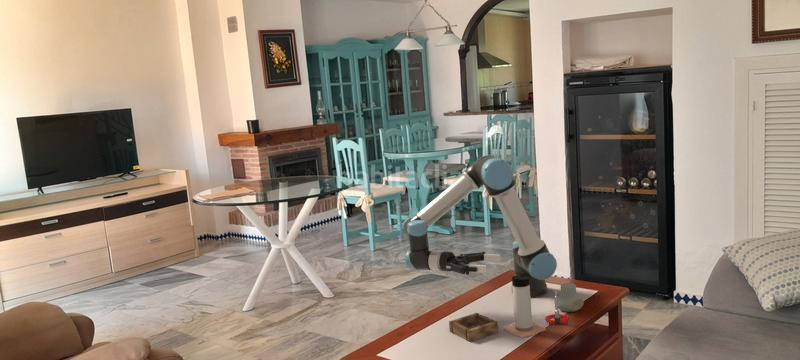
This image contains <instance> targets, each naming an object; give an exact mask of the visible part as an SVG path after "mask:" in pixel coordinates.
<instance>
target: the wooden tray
mask: <svg viewBox="0 0 800 360" xmlns="http://www.w3.org/2000/svg"><path fill="white" fill-rule="evenodd" d="M448 326H449V332H450V333H453V335H455V336H458V337H460V338H462V339H463V340H465V341H467V342H469V343H470V342H474V341H476V340H481V339H483V338H486V337H490V336H492V335H495V334H498V333H499V322H498V321H497V320H494V319H492V318H489V317H487V316H485V315H483V314H480V313H478V312H474V313H471V314H468V315H466V316H462V317H459V318H456V319H453V320H449V321H448ZM471 327H473V328H471Z"/></svg>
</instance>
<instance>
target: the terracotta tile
mask: <svg viewBox="0 0 800 360" xmlns="http://www.w3.org/2000/svg"><path fill="white" fill-rule="evenodd" d="M532 326H533V328H532V329H531V330H528V331H519V330H517V329H516V328H515V323H513V324H510V325H507V326H504V327H503V328H502V330H503V331H505V332H508V333H510V334H513V335H515V336H517V337H519V338H521V339H525V338H528V337H530V336H533V335H536V334H539V333H542V332H545V331H547V328H546V327H544V326H542V325H539V324H537V323H535V322H532Z"/></svg>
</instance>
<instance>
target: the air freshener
mask: <svg viewBox="0 0 800 360" xmlns="http://www.w3.org/2000/svg"><path fill="white" fill-rule="evenodd" d="M576 285H577V284H575V283H572V282H563V283H562V284H560V294H559V295H557V296H558V310H559V311H560V310H561V311H562V312H569V313H574V312H577V311H578V310H581V308H582V307H583V306H584V298H583V297H582V296H581V295H579V294H577V286H576Z"/></svg>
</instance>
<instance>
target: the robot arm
mask: <svg viewBox="0 0 800 360" xmlns="http://www.w3.org/2000/svg"><path fill="white" fill-rule="evenodd" d="M516 184H517V182H516V180H515V178H514V171H513V168H512V165H510V164H509V162H508V161H506V160H505V159H503V158H500V157H495V156H493V155H483V156H481V157H479V158H478V159H476V160H475V161H474V162H472V164H470V165H469V166H468V167H467V168H466V169H465V170H463V171H462V175H461V176H460V177H458V179H457V180H455V181H454V182H453V183H452V184H450V185H449V186H448V187H447V188H446V189H444V190H443V191H442V192H441V193H440V194H439V195H437V196H436V197H435V198H434V199H432V201H430V202H429V203H428V204H427V205H426V206H424V207H423V208H422V209H421V210H419V211H418V212H417V213H416V214H415V215H413V216H412V217H408V218H407V219H405V220H404V221H403V223H402V227H401V228H402V232H403V234H404V235H405V236H406V237H407V238H408V242H409V250H407V251H406V254H405V258H404V262H405V266H406V267H407V268H409V269H411V270H416V271H421V270H422V271H423V270H424V271H435V272H439V271H442V272H455V273H458V274H460V275H465V274H466V275H467V276H468V275H470V273H473V274H474V273H475V274H487V273H488V272H487V271H488V270H487V265H485V264H472V263H476V262H477V263H478V262H483V261H484V262H491V263H492V262H493V263H501V262H502V259H501V254H492V253H486V251H482V252H481V251H479V252H472V253H471V252H469V253H460V255H457V256H456V255H455V254H454V252H452V251H442V250H441V251H439V250H438V251H437V250H434V251H433V250H430V246H429V236H428V229H429V228H430V227H431V226H432V225H433V224H435V223H436V222H437V221H438V220H439V219H440V218H442V217H443V216H445V215H446V214H447V213H448V212H449V211H450V210H451V209H453V208H454V207H455V206H456V205H458V204H459V203H460V202H461V201H463V199H465V198H466V197H467V196H468V195H469V194H471V193H472V192H473V191H474V190H479V189H481V187H483V186H484V188H485V190H486V192H487V194H488V196H489V197H492V198H494V199H495V201H496V203H497V206H498V207H499V210H500V211H501V213H502V215H503V217H504V220H505V221H506V224H507V226H508V228H509V229H510V232H511V233H512V235H513V237H514V240H515V241H513V243H512V254H513V255H512V256H513V269H514V276H524V277H529V284H530V298H533V297H534V298H535V297H540V296H543V295H545V294H547V293H548V284H547V282H546V280H548V279H550V278H551V277H552V276H553V275H554V274H555V272H556V270H557V268H558V262H557V259H556V258H555V256H554V255H553V254H552V253H550V250H549V248H548V246H547V244H546V242H545V241H544V240H543V239H541V238H539V236H538V235H537V232H536V230H535V229H534V226H533V224H532V222H531V219H530V218H529V216H528V213H527V211H526V210H525V207H524V206H523V204H522V201H521V199H520V197H519V196H518V193H517V192H516V190H515V187H516ZM470 263H471V264H470ZM511 294H513V289H512V288H511Z"/></svg>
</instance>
